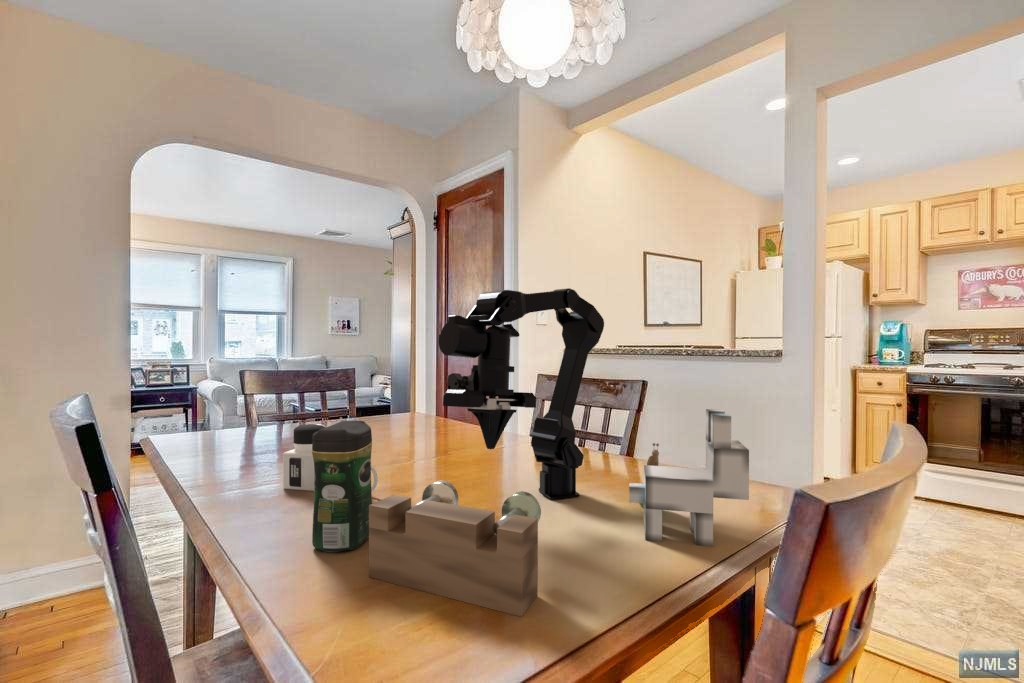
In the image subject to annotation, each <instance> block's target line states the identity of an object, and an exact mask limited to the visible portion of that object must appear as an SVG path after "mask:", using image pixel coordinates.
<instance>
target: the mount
mask: <svg viewBox="0 0 1024 683" xmlns="http://www.w3.org/2000/svg"><path fill="white" fill-rule="evenodd" d="M411 506H412V497H410V496H405V495H398V494H391V495H389V496H386V497H384V498H382V499H380V500H378V501H375V502H372V504H371V505H369V537H368V578H372V579H374V580H378V581H382V582H386V583H389V584H394V585H398V586H402V587H405V588H409V589H413V590H417V591H421V592H425V593H429V594H432V595H436V596H439V597H440V596H441V597H444V598H446V599H447V598H449V599H450V600H451V599H452V600H455V601H460V602H464V603H467V604H471V605H475V606H479V607H482V608H487V609H491V610H494V611H499V612H502V613H505V614H510V615H514V616H517V617H522V616H524V614H525V613H526V611H527V610H528V609H529V608H530V606H531V605H532V604H533V603H534V601H535V600H536V599H537V597H538V596H539V595H538V594H539V593H538V592H539V590H538V588H539V587H538V586H539V584H538V583H539V580H538V579H539V574H538V573H539V565H538V564H539V549H538V548H539V544H538V543H539V541H538V540H539V535H538V534H539V522H538V518H532V517H526V516H520V515H514V516H513V517H511V518H510V519H509V520H507V521H506V522H505V523H504V524H502V525H501V526H500V527H498V528H497V535H496V534H495V533H494V531H493V525H494V524H495V523H496V510H495V511H494V510H488V509H482V508H476V507H470V506H465V505H459V504H458V505H453V504H447V503H441V502H435V501H429V500H428V501H426V502H424V503H422V504H420V505H418V506H416V507H414V508H412V509H410V510H408V509H409V508H410V507H411Z"/></svg>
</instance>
